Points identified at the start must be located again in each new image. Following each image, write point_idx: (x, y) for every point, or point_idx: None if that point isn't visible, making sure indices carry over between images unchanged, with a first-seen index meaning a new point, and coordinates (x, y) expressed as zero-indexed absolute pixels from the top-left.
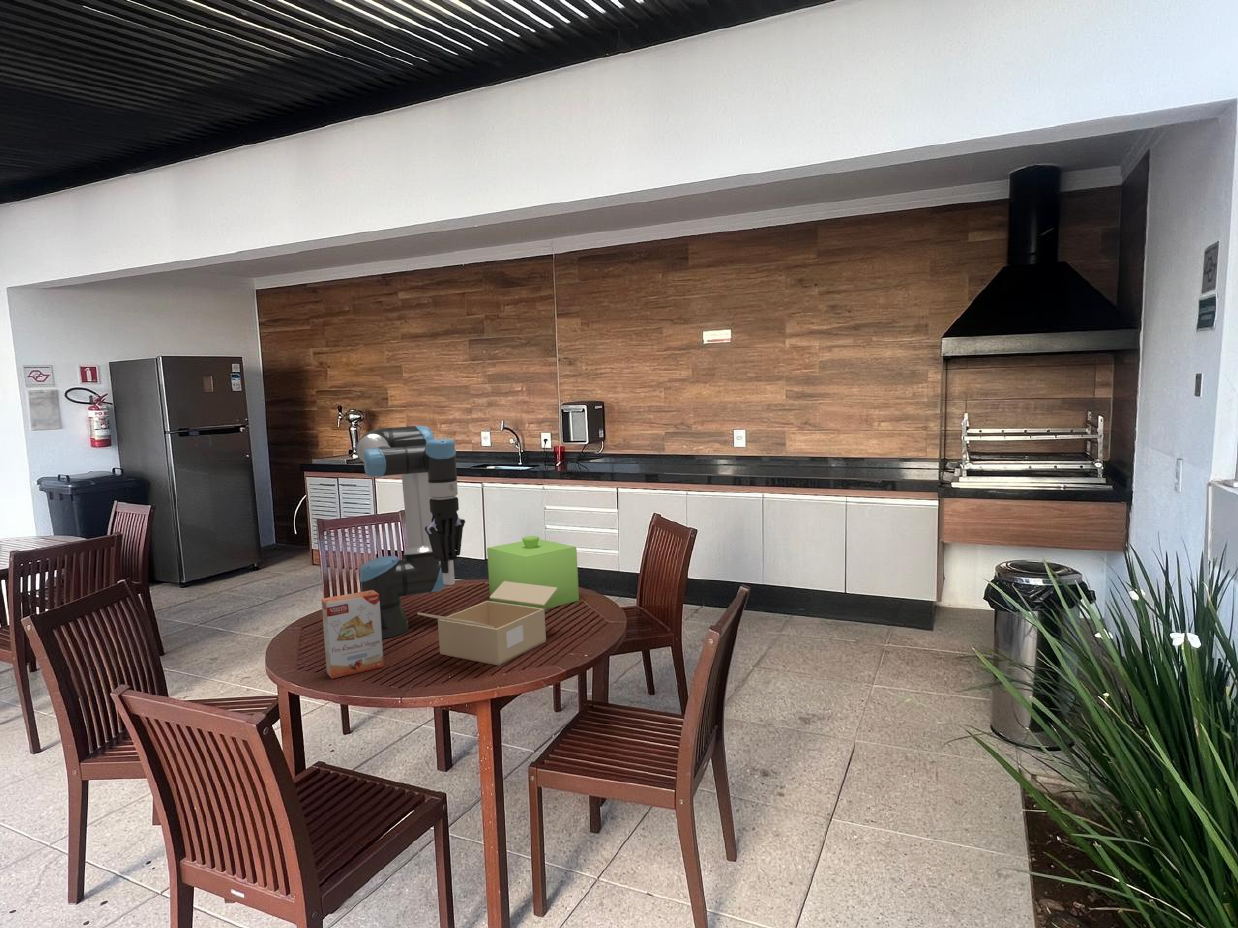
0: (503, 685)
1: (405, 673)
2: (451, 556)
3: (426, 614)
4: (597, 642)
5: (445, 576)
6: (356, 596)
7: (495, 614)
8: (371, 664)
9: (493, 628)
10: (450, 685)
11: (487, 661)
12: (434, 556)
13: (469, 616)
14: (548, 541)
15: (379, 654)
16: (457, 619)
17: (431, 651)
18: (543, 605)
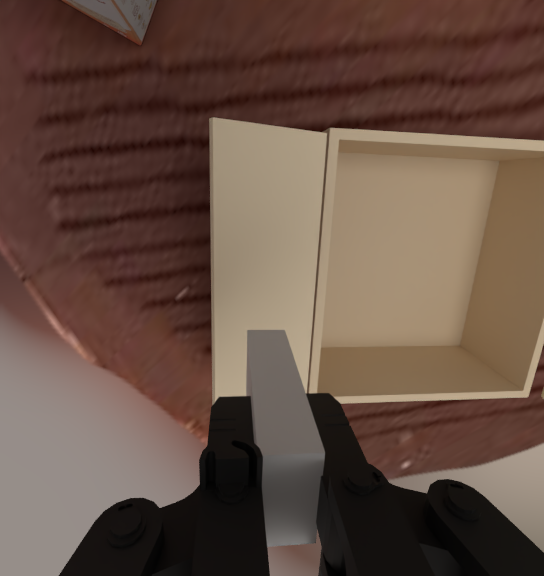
0: (200, 429)
1: (139, 162)
2: (323, 569)
3: (212, 183)
4: (481, 443)
5: (248, 381)
6: None
7: (538, 192)
8: (96, 18)
9: (313, 387)
10: (142, 333)
11: None
12: (73, 570)
13: (469, 150)
14: None
15: (116, 22)
16: (213, 362)
17: (310, 97)
18: (542, 395)
